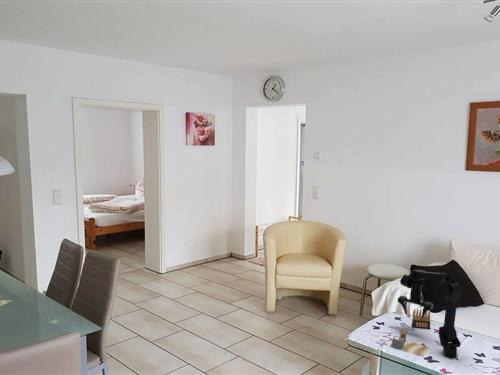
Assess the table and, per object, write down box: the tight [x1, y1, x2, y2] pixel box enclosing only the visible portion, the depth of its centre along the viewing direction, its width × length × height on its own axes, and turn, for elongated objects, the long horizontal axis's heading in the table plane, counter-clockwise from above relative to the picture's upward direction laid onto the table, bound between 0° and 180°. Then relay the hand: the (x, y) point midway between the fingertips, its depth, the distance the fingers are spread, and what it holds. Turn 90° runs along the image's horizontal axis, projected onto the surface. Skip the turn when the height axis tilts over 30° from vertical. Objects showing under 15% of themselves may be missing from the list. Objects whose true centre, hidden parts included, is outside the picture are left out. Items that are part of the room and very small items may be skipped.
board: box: [388, 340, 431, 358], centre depth 226 cm, size 18×14×1 cm
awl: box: [399, 327, 407, 343], centre depth 233 cm, size 3×3×7 cm
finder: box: [391, 335, 404, 351], centre depth 226 cm, size 5×5×5 cm
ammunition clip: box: [411, 308, 431, 330], centre depth 254 cm, size 11×2×12 cm, turn 84°
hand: (414, 316), depth 241 cm, fingers open, 9 cm apart
